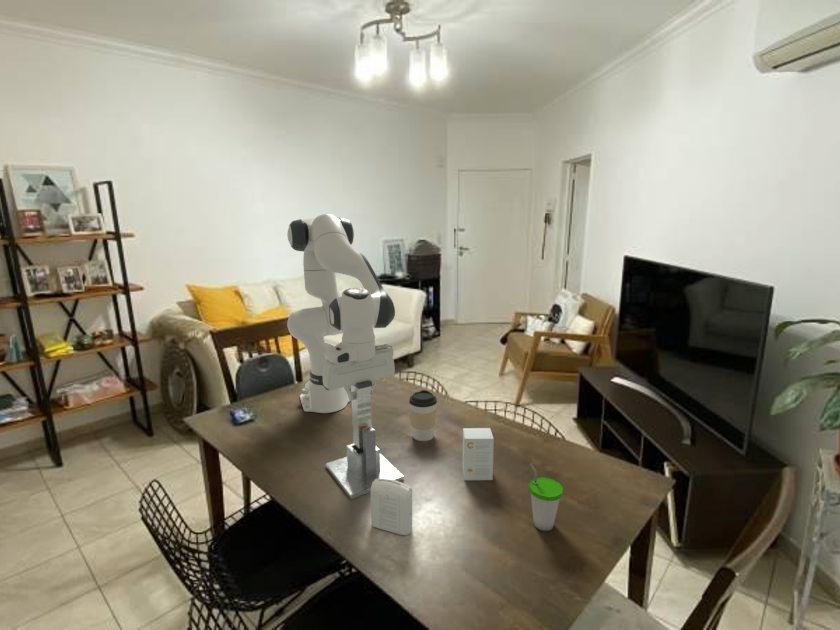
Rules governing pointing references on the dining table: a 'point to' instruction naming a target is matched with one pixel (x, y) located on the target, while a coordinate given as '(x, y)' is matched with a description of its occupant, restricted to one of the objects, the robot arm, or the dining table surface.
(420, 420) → the coffee cup
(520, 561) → the dining table surface
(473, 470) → the small box
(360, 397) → the column
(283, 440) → the dining table surface
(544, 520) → the cup
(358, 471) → the stand base
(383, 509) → the photo printer
